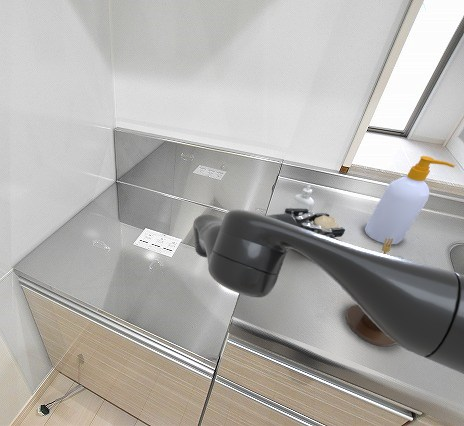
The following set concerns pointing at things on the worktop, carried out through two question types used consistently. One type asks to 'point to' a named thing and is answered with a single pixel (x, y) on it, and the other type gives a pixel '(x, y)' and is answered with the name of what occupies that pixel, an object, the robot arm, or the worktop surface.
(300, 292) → the worktop surface
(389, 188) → the soap bottle
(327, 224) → the candle
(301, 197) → the eye dropper bottle
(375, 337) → the candle stand
